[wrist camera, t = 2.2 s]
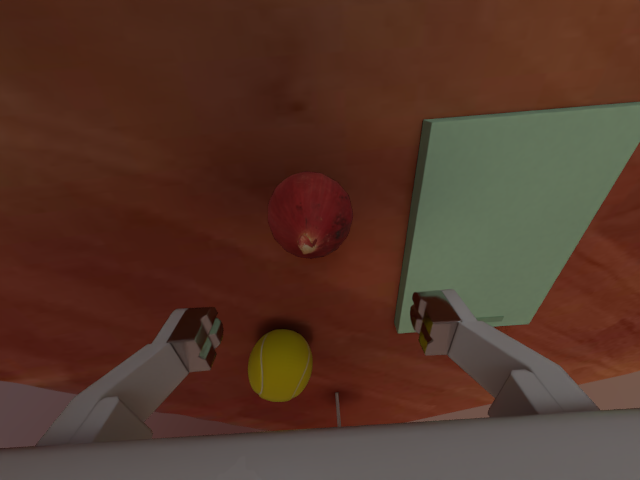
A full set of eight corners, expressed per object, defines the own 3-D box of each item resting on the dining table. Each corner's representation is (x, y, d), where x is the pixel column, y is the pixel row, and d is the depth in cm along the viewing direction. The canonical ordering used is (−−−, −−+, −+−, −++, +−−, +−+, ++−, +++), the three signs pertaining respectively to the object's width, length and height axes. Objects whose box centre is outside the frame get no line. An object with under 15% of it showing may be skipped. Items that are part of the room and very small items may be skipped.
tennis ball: (319, 322, 28) (321, 384, 22) (304, 356, 32) (302, 417, 26) (260, 312, 27) (245, 374, 21) (251, 348, 30) (236, 410, 24)
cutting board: (423, 119, 17) (432, 122, 15) (636, 101, 17) (665, 102, 15) (393, 322, 29) (398, 334, 27) (519, 313, 28) (529, 324, 27)
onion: (352, 165, 18) (375, 208, 12) (338, 229, 21) (350, 293, 15) (277, 154, 18) (255, 193, 11) (273, 221, 21) (255, 284, 14)
